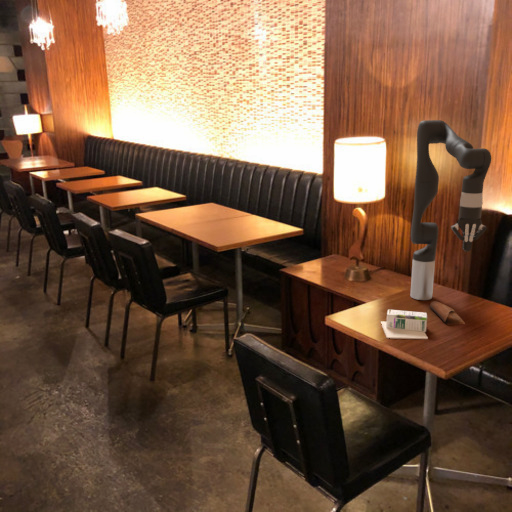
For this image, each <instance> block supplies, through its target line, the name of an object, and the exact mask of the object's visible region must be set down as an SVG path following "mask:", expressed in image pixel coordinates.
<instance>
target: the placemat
mask: <svg viewBox="0 0 512 512" xmlns="http://www.w3.org/2000/svg"><path fill="white" fill-rule="evenodd" d="M386 321H387V320H385V321H380V324H382V325H381V327H382V330H383V332H384V335H385V337H386V339H388V340H389V338H390V339H394V340H395V339H397V340H401V339H403V340H404V339H406V340H428V338H429V337H428V336H427V334H426V332H421V331H413V330H402V329H391V328H386Z"/></svg>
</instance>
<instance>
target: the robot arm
mask: <svg viewBox="0 0 512 512" xmlns="http://www.w3.org/2000/svg"><path fill="white" fill-rule="evenodd" d="M431 144H433V145H435V144H444V145H445V147H444V148H445V150H446V152H447V153H448V154H449V155H451V156H452V157H453V158H455V159H456V161H457V163H458V164H459V166H460V167H461V168H463V169H466V170H473V172H472V173H471V174H468V175H466V176H463V178H462V182H461V183H462V185H461V194H460V198H459V199H460V200H459V211H458V219H457V220H456V223H455V224H454V225H451V226H450V229H451V230H452V232H453V233H454V235H456V238H457V239H459V240H460V241H462V247H461V248H462V250H464V252H470V251H471V250H472V246H473V242H474V241H477V240H479V239H480V237H481V236H482V235H483V234H484V233H485V232H486V231H487V229H488V227H487V226H486V225H484V224H483V222H482V219H481V218H482V211H483V204H484V201H483V193H484V192H483V190H484V182H485V179H486V177H487V173H488V172H489V168H490V166H491V163H492V154H491V152H490V150H489V149H487V148H474V146H473V145H472V143H470V142H468V140H466V139H464V138H462V137H461V136H459V134H457V133H456V132H455V131H454V129H453V128H452V127H450V125H449V124H448V123H446V121H443V120H439V119H438V120H437V119H433V120H432V119H430V120H421V121H420V122H419V123H418V126H417V130H416V156H417V157H416V170H415V171H416V172H415V180H414V181H415V182H414V201H413V213H412V220H411V227H410V241H411V243H412V244H413V245H425V246H424V247H423V248H419V249H417V250H415V251H414V252H413V253H412V264H411V265H412V267H411V281H410V295H409V296H410V298H412V299H414V300H418V301H419V300H420V301H429V300H431V299H432V298H433V290H434V280H435V279H434V278H435V264H436V256H437V248H438V247H437V245H438V240H439V239H438V238H439V227H438V224H437V223H436V222H426V221H425V222H422V219H423V217H424V213H425V212H426V210H427V208H429V206H430V204H431V203H432V202H433V200H435V198H436V196H437V195H438V192H439V181H440V178H439V177H440V175H439V173H438V171H437V168H436V167H435V165H434V163H433V161H432V159H431V156H430V145H431ZM459 229H460V230H461V233H460V232H459Z"/></svg>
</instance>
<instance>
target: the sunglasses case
mask: <svg viewBox="0 0 512 512" xmlns="http://www.w3.org/2000/svg"><path fill="white" fill-rule="evenodd" d="M429 309H430V310H432V311H433V312H434V313H435V314H436V315H437V316H439V318H440V319H441V321H443V323H445V324H446V326H447V325H448V326H449V325H465V324H466V322H465V321H464V320H463V319H462V318H461V316H459V314H458V313H457V312H456V310H454V309H453V308H452V307H450V306H448V305H446V304H444V303H442V302H439V301H436V300H434V301H433V300H432V301H431V302H430V304H429Z"/></svg>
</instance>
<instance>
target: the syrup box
mask: <svg viewBox="0 0 512 512" xmlns="http://www.w3.org/2000/svg"><path fill="white" fill-rule="evenodd" d="M385 321H386V328H391V329H402V330H413V331H421V332H425V333H426V332H427V325H428V324H427V323H428V314H427V312H422V311H410V310H399V309H387V311H386V320H385Z"/></svg>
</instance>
